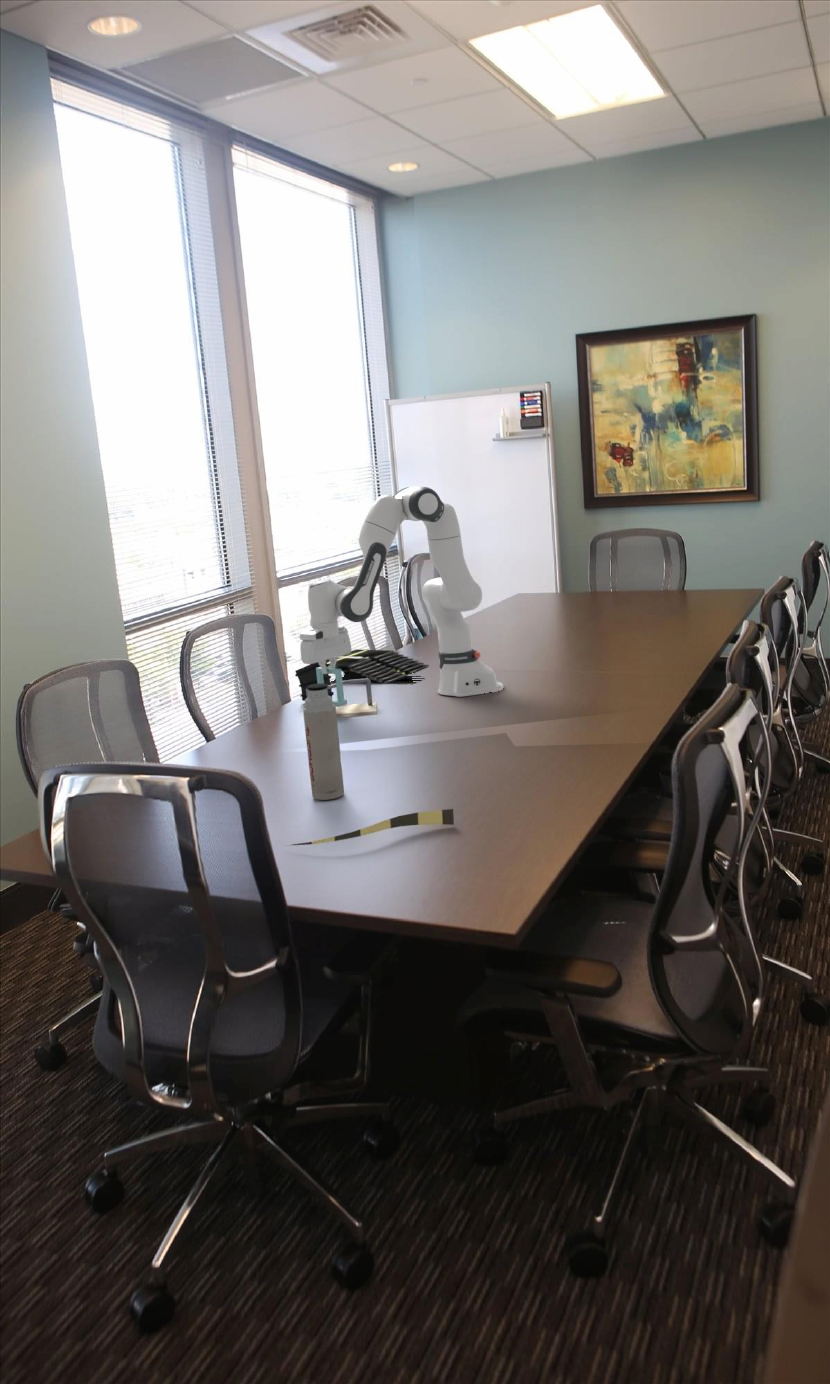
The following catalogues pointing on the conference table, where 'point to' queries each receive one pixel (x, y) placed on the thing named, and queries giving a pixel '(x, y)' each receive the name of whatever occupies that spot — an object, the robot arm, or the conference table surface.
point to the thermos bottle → (323, 744)
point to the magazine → (311, 678)
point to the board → (356, 710)
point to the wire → (368, 682)
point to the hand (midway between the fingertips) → (328, 672)
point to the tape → (397, 824)
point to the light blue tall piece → (339, 685)
